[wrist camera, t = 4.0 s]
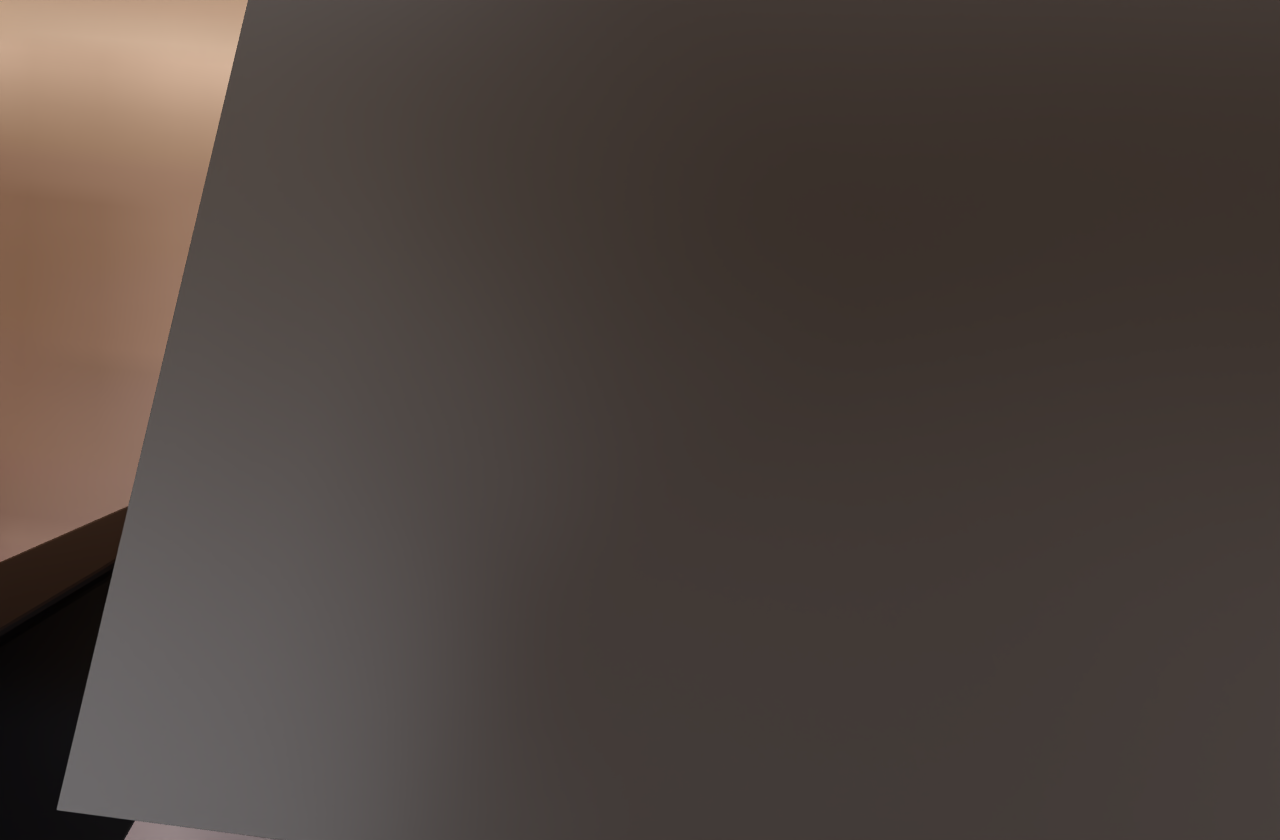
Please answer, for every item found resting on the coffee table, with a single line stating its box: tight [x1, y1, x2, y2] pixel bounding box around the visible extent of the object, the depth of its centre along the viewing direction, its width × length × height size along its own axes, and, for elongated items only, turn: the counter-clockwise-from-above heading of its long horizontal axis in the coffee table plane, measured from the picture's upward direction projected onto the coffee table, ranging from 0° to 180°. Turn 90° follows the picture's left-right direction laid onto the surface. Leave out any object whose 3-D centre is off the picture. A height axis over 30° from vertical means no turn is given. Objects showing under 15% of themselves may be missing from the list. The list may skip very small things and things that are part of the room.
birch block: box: [57, 0, 1280, 840], centre depth 11 cm, size 6×6×12 cm
